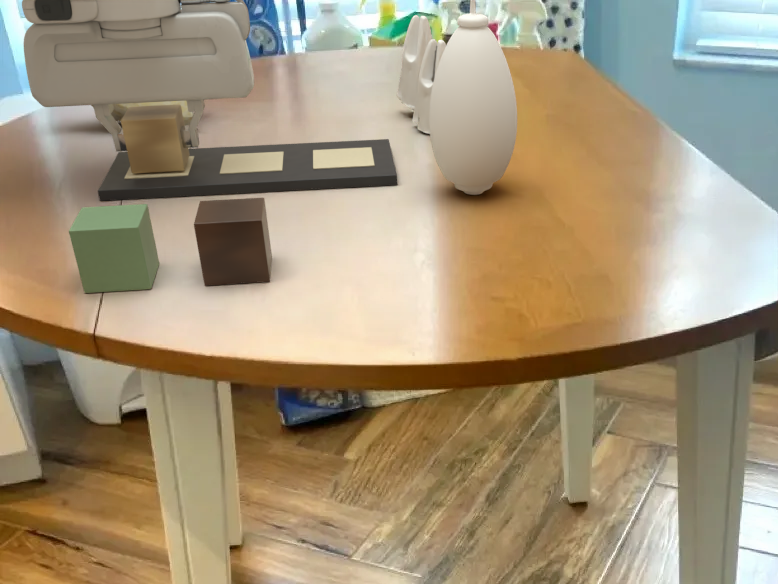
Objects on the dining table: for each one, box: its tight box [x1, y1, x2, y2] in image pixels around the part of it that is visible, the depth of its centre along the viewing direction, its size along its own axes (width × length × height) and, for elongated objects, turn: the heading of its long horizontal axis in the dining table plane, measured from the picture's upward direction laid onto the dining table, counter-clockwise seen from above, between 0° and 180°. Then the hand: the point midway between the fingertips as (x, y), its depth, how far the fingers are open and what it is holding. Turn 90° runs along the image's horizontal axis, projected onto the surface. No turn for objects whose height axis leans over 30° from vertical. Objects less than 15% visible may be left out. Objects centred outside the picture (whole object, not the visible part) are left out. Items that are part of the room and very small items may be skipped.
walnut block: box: [193, 197, 273, 287], centre depth 75 cm, size 5×5×5 cm
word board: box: [97, 138, 398, 202], centre depth 96 cm, size 28×12×1 cm, turn 97°
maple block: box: [120, 104, 190, 173], centre depth 93 cm, size 5×5×5 cm
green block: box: [68, 203, 160, 294], centre depth 74 cm, size 5×5×5 cm
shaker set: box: [396, 14, 447, 135], centre depth 107 cm, size 12×4×11 cm, turn 18°
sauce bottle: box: [429, 0, 518, 196], centre depth 86 cm, size 8×8×18 cm
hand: (157, 148), depth 94 cm, fingers closed on maple block, 5 cm apart
